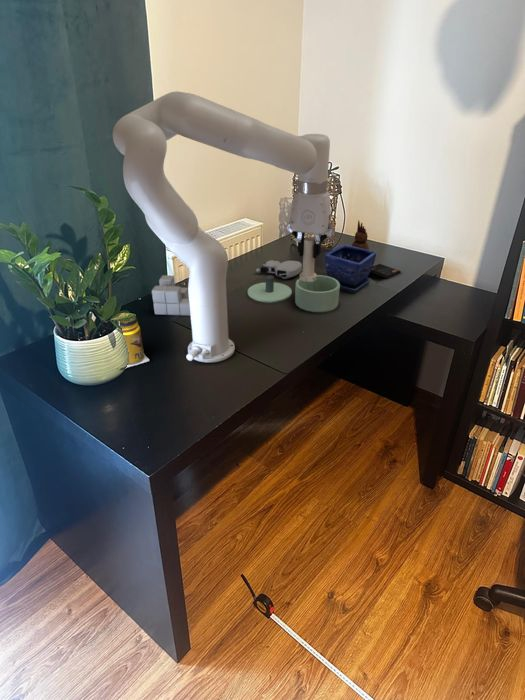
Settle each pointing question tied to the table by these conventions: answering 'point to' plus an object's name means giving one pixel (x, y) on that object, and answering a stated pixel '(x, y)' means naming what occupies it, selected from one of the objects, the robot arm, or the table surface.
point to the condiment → (133, 341)
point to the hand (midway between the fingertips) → (309, 255)
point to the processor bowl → (317, 294)
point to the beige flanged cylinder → (308, 261)
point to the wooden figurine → (360, 238)
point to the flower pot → (350, 266)
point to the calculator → (384, 271)
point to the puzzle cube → (170, 298)
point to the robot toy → (281, 268)
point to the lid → (269, 291)
